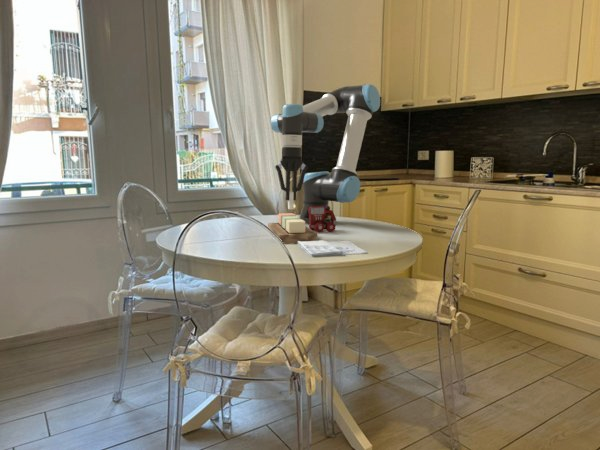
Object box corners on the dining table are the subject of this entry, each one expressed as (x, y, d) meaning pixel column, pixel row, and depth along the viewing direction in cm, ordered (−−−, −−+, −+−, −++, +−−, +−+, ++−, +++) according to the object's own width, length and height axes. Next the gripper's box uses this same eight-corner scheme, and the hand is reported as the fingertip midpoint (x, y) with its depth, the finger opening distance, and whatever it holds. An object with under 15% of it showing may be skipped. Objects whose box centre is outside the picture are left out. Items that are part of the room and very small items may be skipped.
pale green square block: (296, 226, 172) (297, 216, 172) (300, 228, 167) (300, 218, 166) (282, 226, 171) (282, 216, 170) (285, 229, 165) (285, 218, 165)
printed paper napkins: (296, 245, 154) (296, 239, 154) (350, 243, 159) (350, 238, 159) (310, 258, 136) (310, 251, 136) (370, 256, 141) (370, 249, 140)
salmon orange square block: (292, 222, 180) (292, 213, 179) (295, 225, 174) (295, 215, 174) (278, 223, 179) (278, 213, 178) (281, 225, 173) (281, 215, 172)
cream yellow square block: (301, 229, 165) (301, 219, 164) (305, 232, 159) (305, 221, 158) (286, 230, 163) (286, 219, 163) (289, 233, 158) (289, 222, 157)
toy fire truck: (339, 231, 180) (340, 206, 178) (312, 233, 175) (312, 207, 173) (331, 228, 186) (332, 204, 184) (305, 230, 181) (305, 205, 179)
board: (300, 229, 183) (300, 221, 183) (317, 241, 158) (317, 233, 158) (268, 230, 180) (268, 222, 180) (279, 243, 155) (279, 234, 155)
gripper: (276, 146, 158) (275, 210, 162) (311, 147, 161) (309, 210, 165) (273, 146, 166) (272, 207, 169) (306, 147, 169) (304, 207, 172)
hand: (290, 208), depth 167 cm, fingers closed
